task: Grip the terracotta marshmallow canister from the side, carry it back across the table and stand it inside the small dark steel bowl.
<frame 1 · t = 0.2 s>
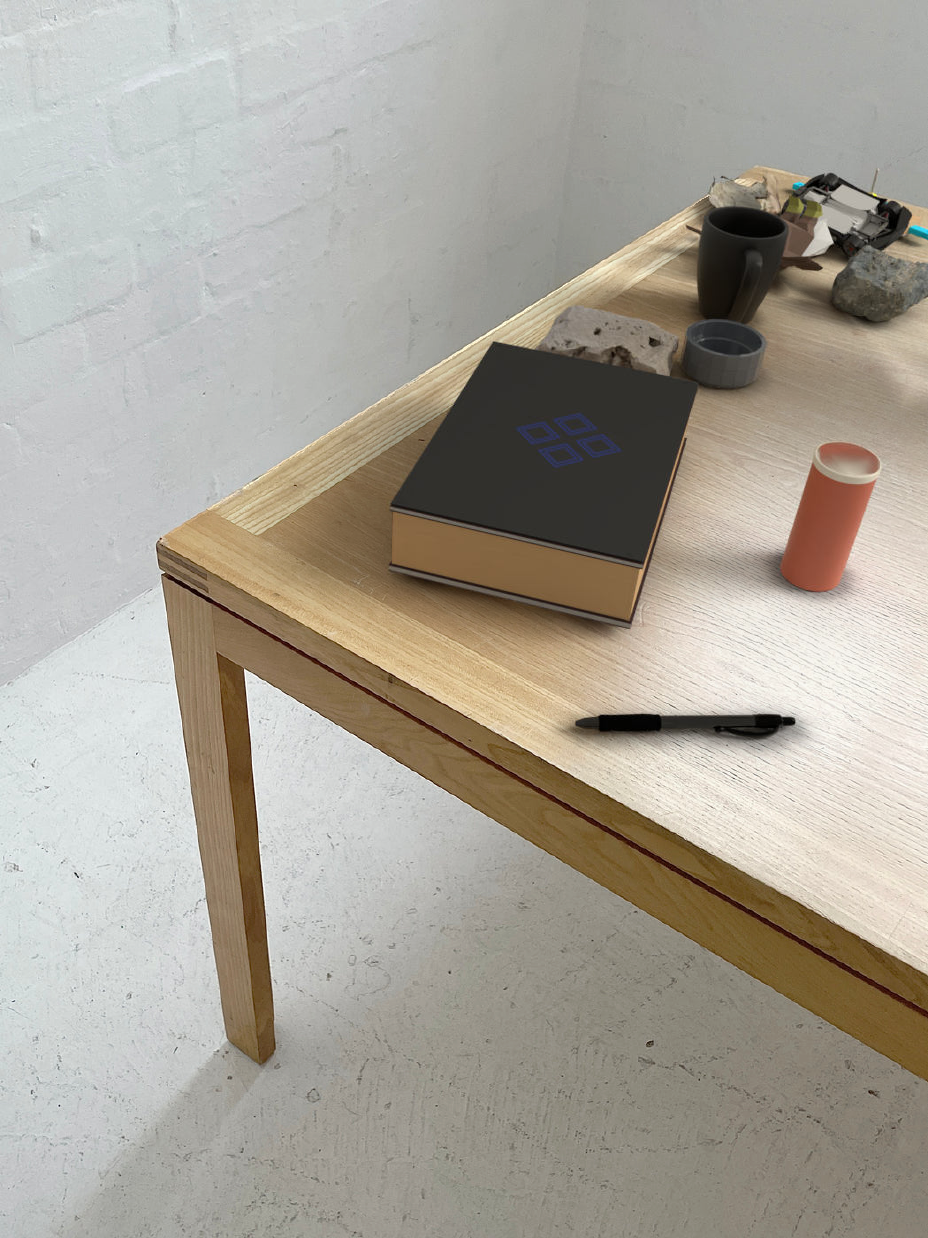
mug: (726, 323, 114), on the table
toy car: (844, 206, 129), point 4 cm above the table
gear mechanism: (835, 203, 133), point 3 cm above the table
pen: (690, 719, 70), point 1 cm above the table
book: (548, 512, 88), on the table
bowl: (718, 371, 106), on the table
stone fragment: (737, 186, 133), point 3 cm above the table
rock: (878, 309, 120), on the table
canister: (809, 572, 83), on the table
stone: (603, 376, 104), on the table
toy: (823, 194, 125), point 7 cm above the table
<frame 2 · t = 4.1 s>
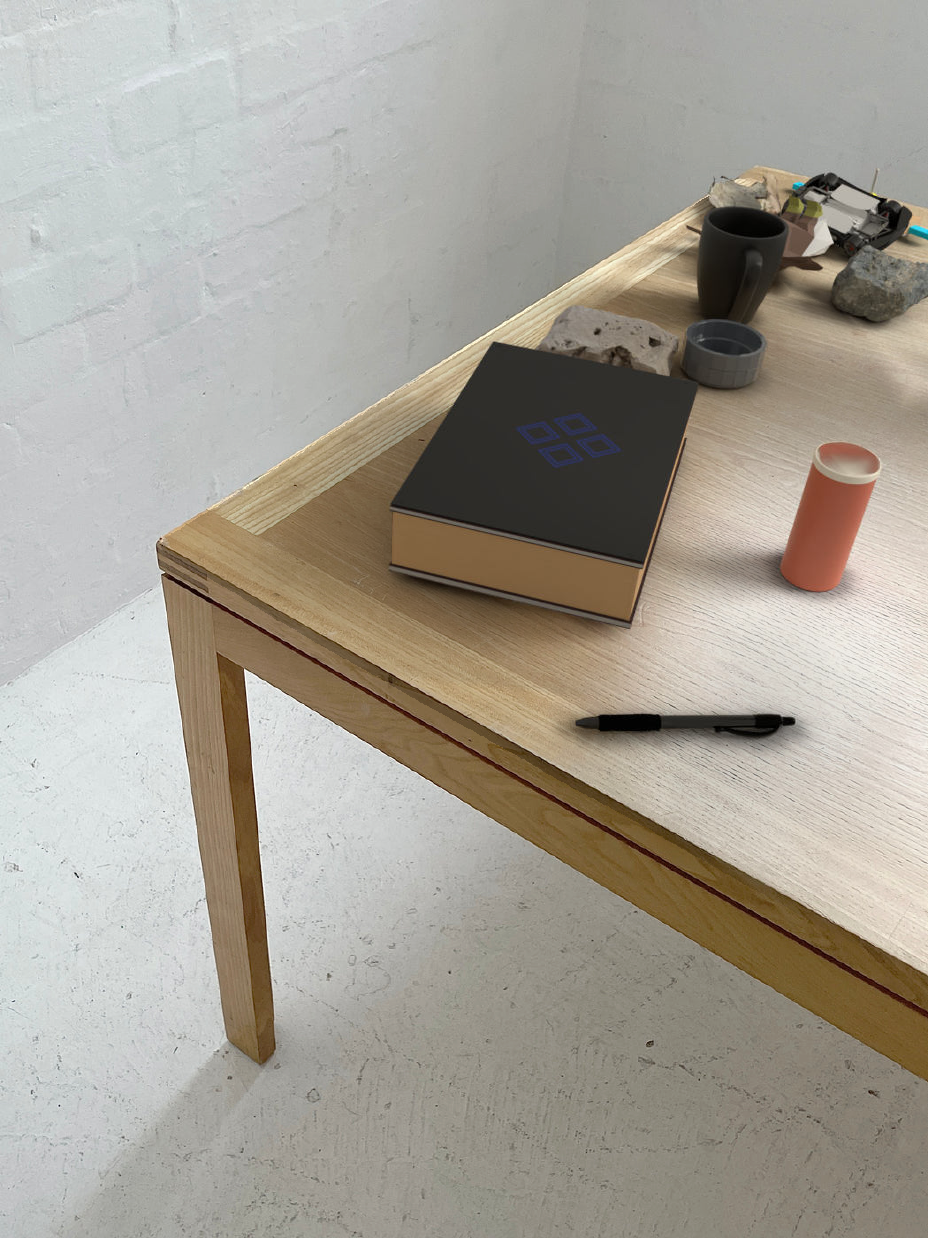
nothing on the table moved.
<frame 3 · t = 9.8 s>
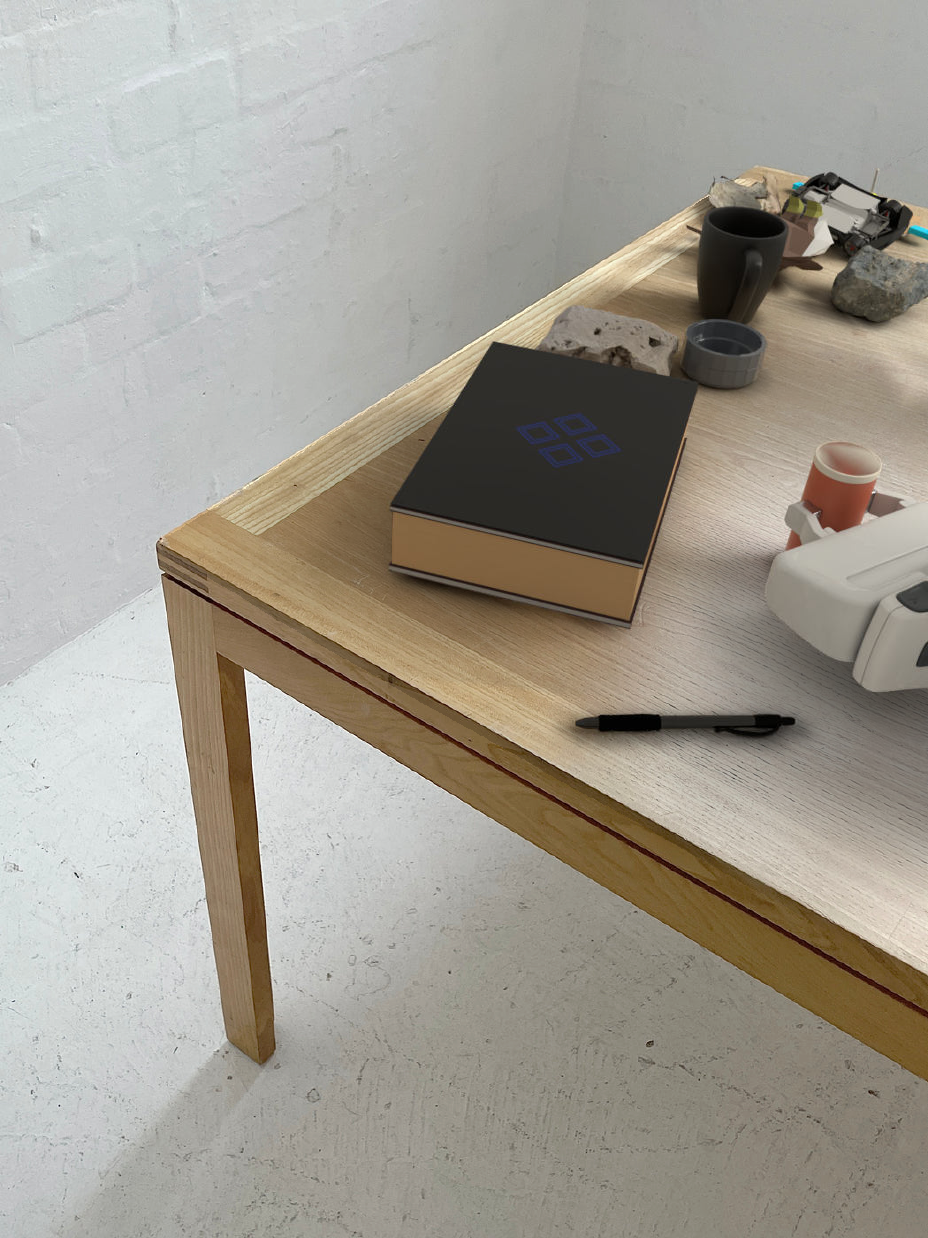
hand: (823, 499, 80), 6 cm above the table, tool horizontal, fingers closed on canister, 4 cm apart
toy car: (844, 205, 129), point 4 cm above the table, touching gear mechanism
gear mechanism: (835, 203, 133), point 3 cm above the table, touching toy car
canister: (809, 572, 83), on the table, touching gripper
everything else where it was.
when the fingers open (6 cm above the table, at t = 19.0 s): canister stays where it is, resting on bowl.
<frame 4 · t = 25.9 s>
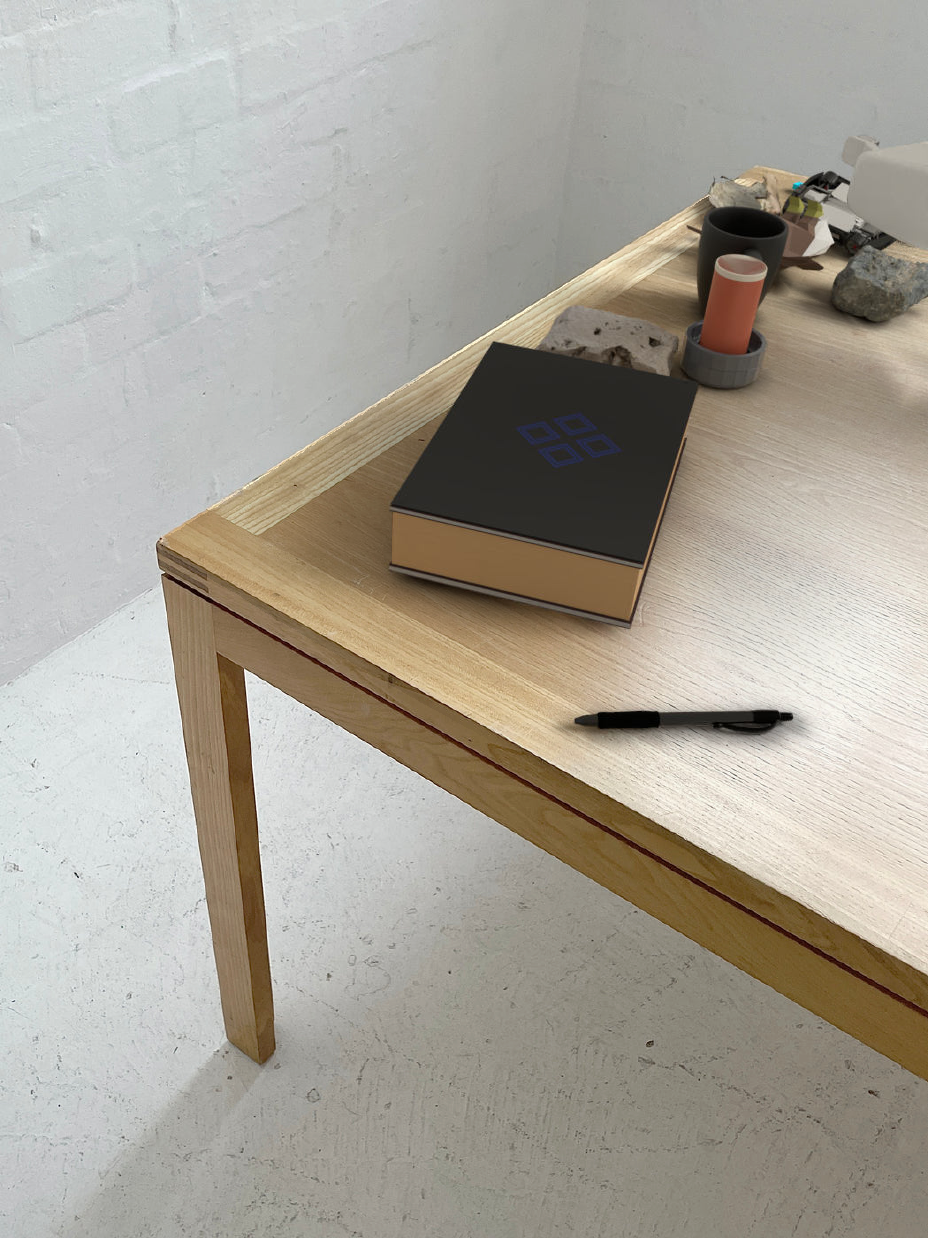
hand: (897, 138, 82), 25 cm above the table, tool horizontal, fingers open, 8 cm apart
toy car: (845, 204, 129), point 4 cm above the table
gear mechanism: (835, 203, 133), point 3 cm above the table
canister: (718, 366, 106), resting on bowl
everything else where it was.
at the end: canister 0.2 cm off-centre in the bowl, point 0.5 cm above the bowl's base; canister tilted 0°; the gripper is holding nothing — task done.
